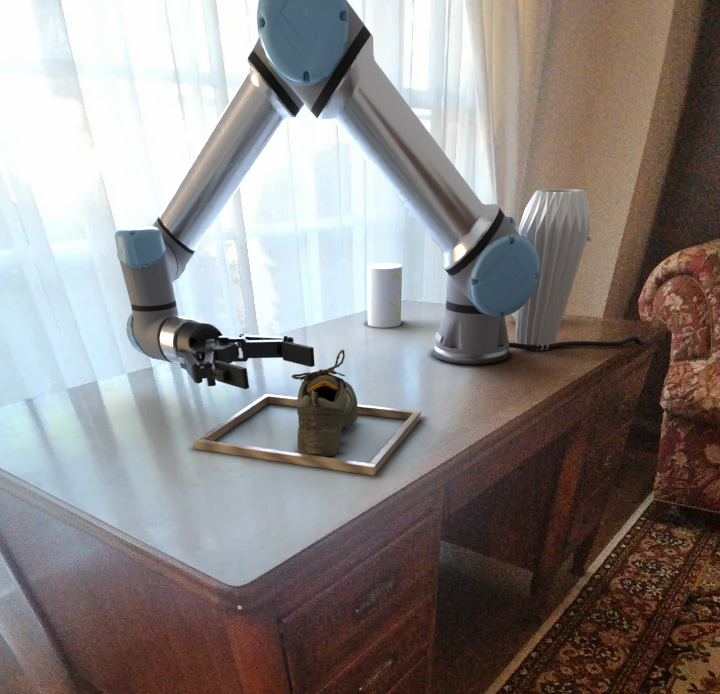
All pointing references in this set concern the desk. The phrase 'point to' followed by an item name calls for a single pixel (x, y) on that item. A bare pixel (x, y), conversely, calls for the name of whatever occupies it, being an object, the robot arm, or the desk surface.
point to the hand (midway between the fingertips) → (280, 367)
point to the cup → (384, 294)
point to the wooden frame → (371, 468)
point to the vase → (552, 260)
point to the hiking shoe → (324, 410)
